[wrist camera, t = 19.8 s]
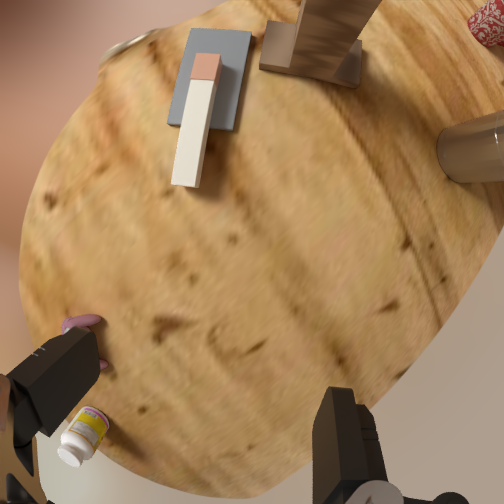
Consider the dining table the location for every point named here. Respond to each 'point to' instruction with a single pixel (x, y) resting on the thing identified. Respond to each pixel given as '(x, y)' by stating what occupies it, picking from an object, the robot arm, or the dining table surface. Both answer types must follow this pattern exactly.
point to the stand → (319, 41)
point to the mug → (489, 23)
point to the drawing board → (234, 60)
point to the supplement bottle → (83, 436)
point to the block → (196, 120)
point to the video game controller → (82, 323)
